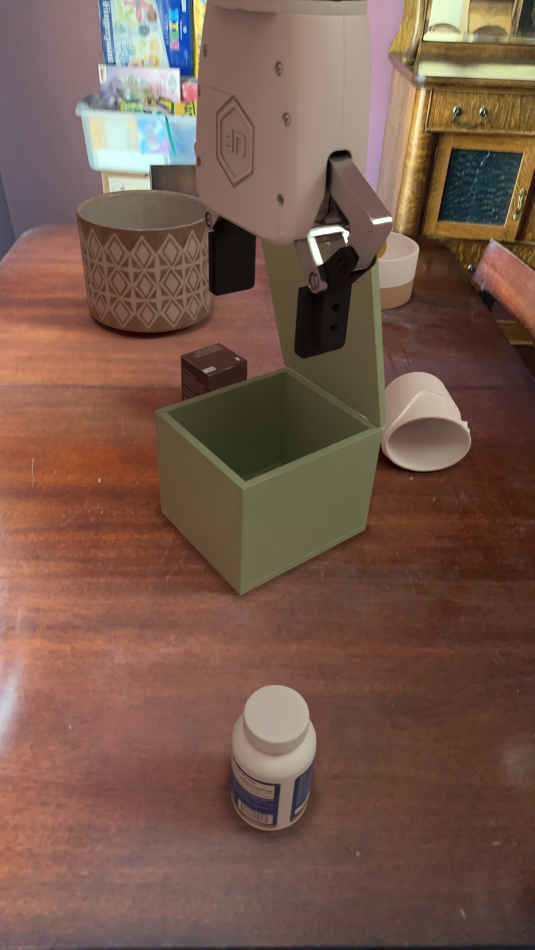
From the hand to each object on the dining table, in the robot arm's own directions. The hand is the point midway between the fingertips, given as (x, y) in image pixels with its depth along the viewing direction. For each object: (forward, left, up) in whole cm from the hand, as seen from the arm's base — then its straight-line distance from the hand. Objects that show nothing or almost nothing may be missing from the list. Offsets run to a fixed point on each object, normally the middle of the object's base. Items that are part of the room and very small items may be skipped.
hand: (272, 318), depth 41 cm
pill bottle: (-13, -7, -28) cm, 32 cm away
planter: (+49, +42, -28) cm, 70 cm away
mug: (+32, -4, -28) cm, 43 cm away
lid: (+17, +3, -8) cm, 19 cm away
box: (+29, +20, -28) cm, 45 cm away
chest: (+12, +5, -28) cm, 31 cm away
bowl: (+76, +16, -28) cm, 82 cm away
